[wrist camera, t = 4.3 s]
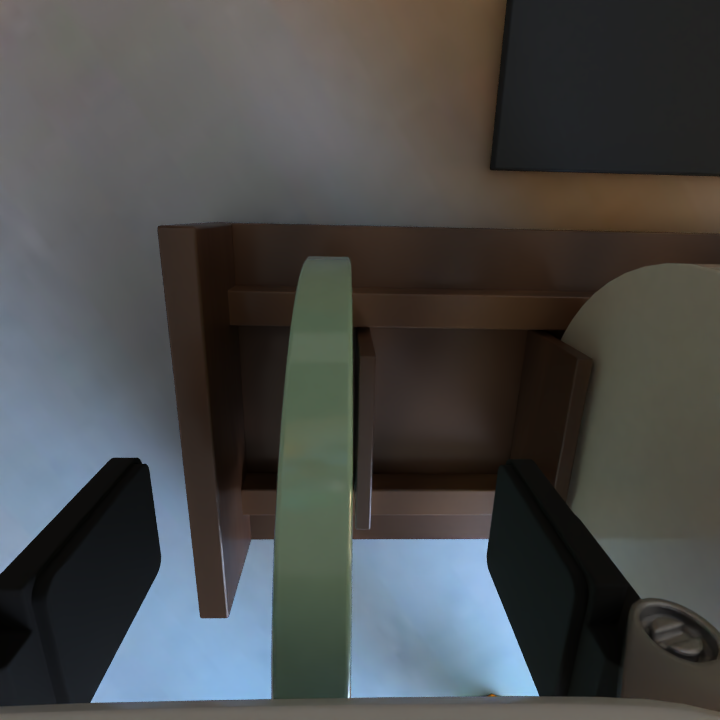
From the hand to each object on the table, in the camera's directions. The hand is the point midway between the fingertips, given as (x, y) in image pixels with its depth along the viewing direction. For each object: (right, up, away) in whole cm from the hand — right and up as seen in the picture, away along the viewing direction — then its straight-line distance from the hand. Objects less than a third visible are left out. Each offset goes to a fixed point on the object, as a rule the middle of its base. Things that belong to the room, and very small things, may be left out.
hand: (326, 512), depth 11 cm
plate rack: (+8, +2, +8) cm, 12 cm away
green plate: (0, 0, +1) cm, 1 cm away
